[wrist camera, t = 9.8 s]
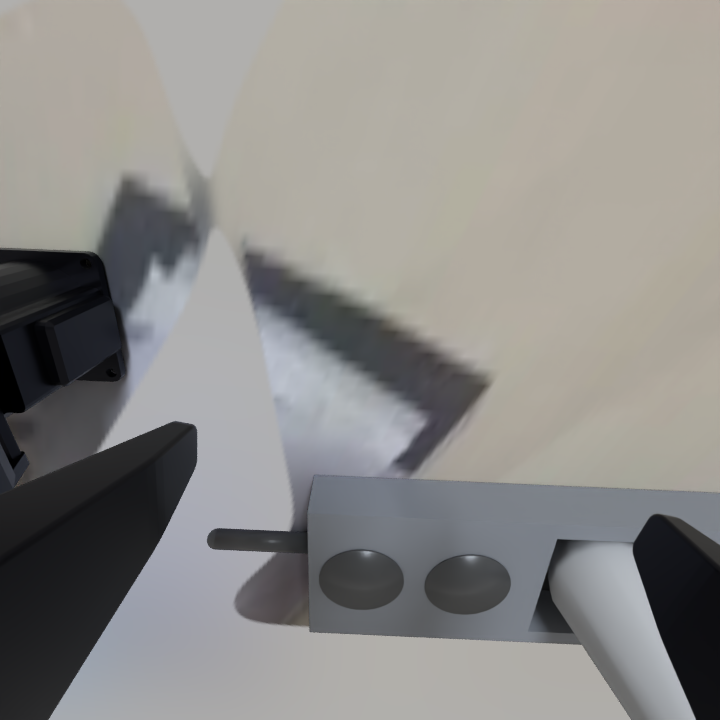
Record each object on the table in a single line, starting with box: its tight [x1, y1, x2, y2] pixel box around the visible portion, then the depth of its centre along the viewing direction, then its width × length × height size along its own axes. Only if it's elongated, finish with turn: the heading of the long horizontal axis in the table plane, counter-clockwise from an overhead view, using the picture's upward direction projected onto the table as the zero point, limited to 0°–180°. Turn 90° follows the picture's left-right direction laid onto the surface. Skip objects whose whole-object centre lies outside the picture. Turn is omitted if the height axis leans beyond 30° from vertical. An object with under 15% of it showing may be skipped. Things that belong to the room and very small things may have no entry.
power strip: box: [207, 475, 720, 645], centre depth 24 cm, size 31×10×4 cm, turn 88°
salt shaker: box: [548, 539, 696, 720], centre depth 20 cm, size 6×6×13 cm
